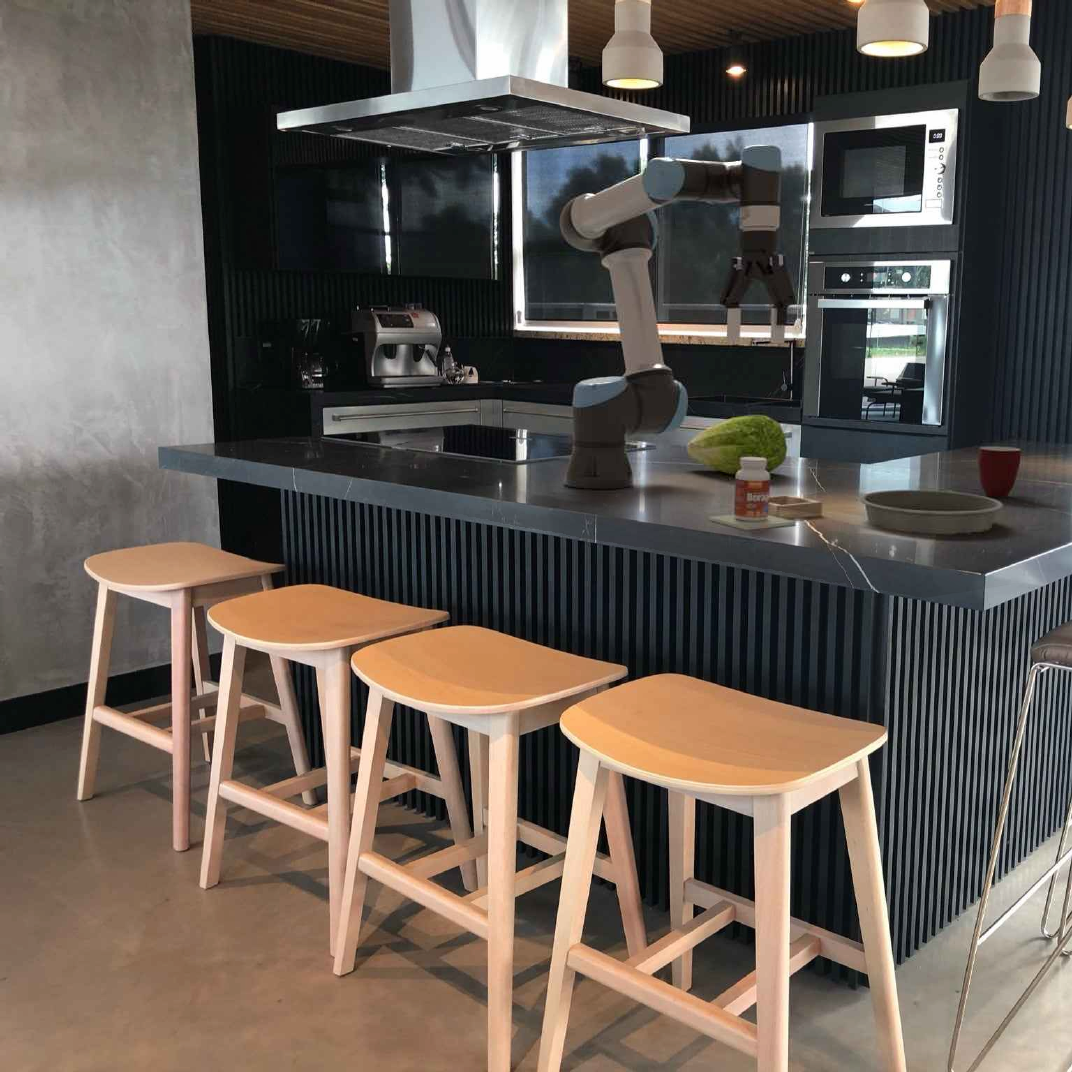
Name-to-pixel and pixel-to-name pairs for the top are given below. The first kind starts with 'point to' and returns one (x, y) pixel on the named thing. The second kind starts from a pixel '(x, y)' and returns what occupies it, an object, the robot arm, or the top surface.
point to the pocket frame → (793, 507)
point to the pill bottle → (752, 490)
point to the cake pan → (930, 511)
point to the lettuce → (739, 443)
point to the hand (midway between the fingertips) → (754, 342)
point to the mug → (998, 470)
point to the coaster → (752, 522)
